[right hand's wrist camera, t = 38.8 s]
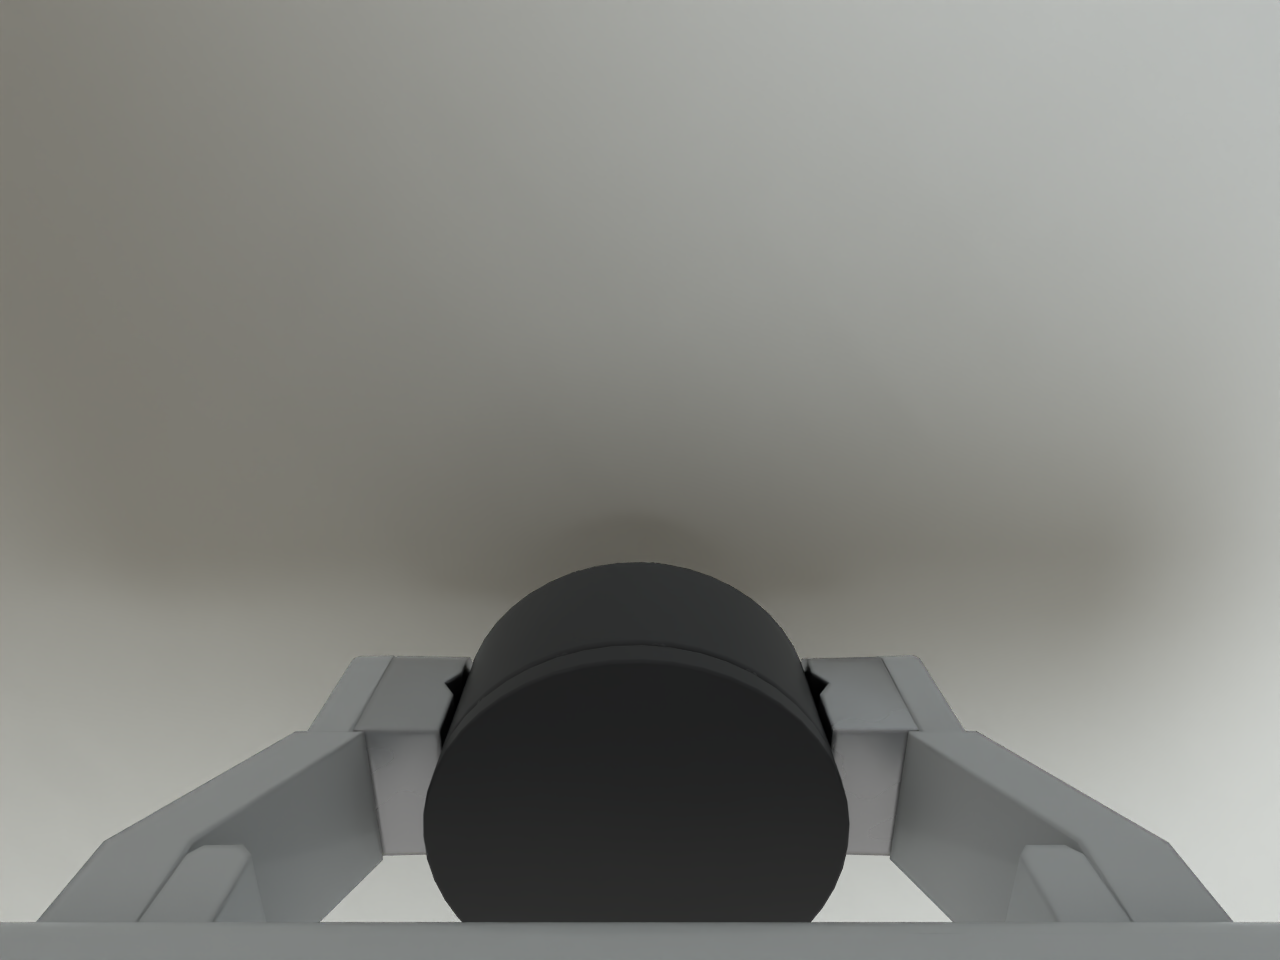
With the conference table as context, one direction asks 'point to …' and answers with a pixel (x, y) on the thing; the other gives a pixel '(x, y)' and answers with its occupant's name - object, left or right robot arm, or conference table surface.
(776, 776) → the cap
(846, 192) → the conference table surface
